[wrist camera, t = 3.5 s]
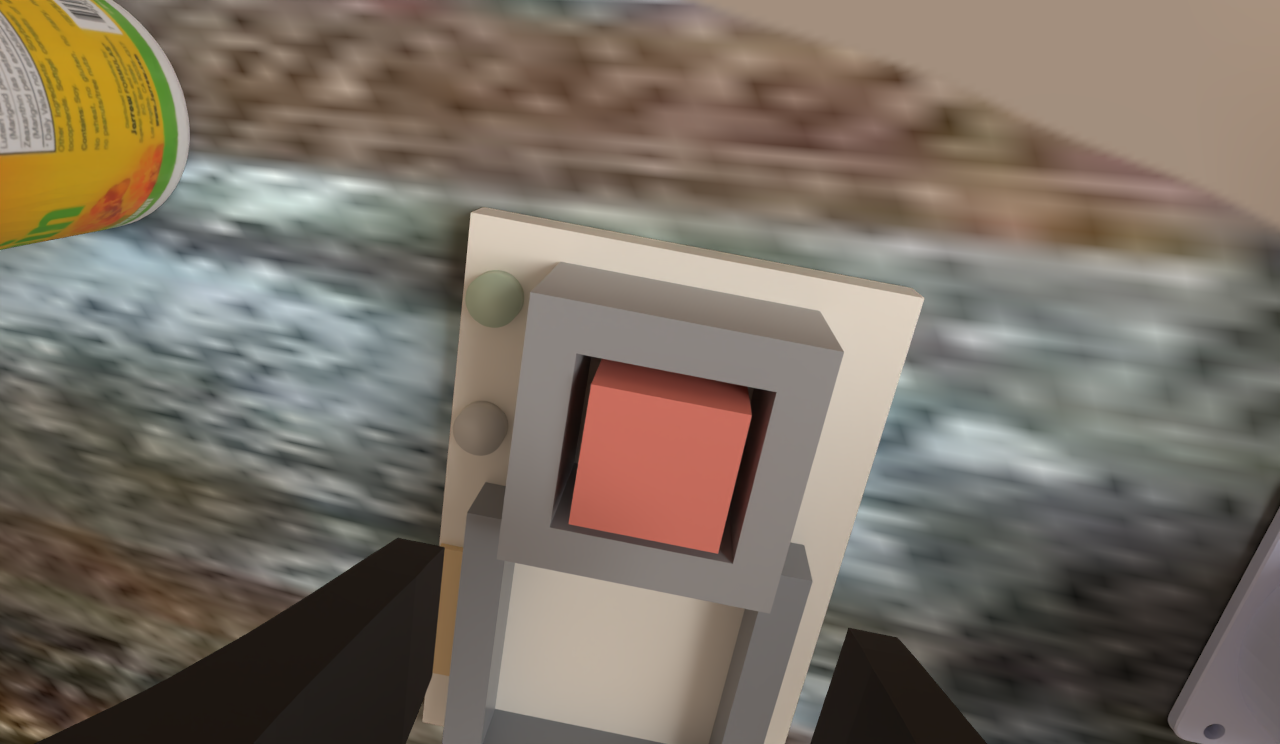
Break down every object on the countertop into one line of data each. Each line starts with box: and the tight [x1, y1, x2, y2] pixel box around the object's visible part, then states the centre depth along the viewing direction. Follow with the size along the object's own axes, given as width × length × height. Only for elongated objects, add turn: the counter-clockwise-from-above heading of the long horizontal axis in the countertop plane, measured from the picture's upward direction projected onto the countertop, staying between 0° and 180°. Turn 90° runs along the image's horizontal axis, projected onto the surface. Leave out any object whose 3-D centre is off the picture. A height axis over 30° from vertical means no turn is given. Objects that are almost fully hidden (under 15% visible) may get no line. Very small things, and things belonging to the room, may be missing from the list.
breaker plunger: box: [569, 359, 752, 554], centre depth 15 cm, size 3×3×3 cm
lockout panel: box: [423, 207, 924, 744], centre depth 18 cm, size 10×14×4 cm
